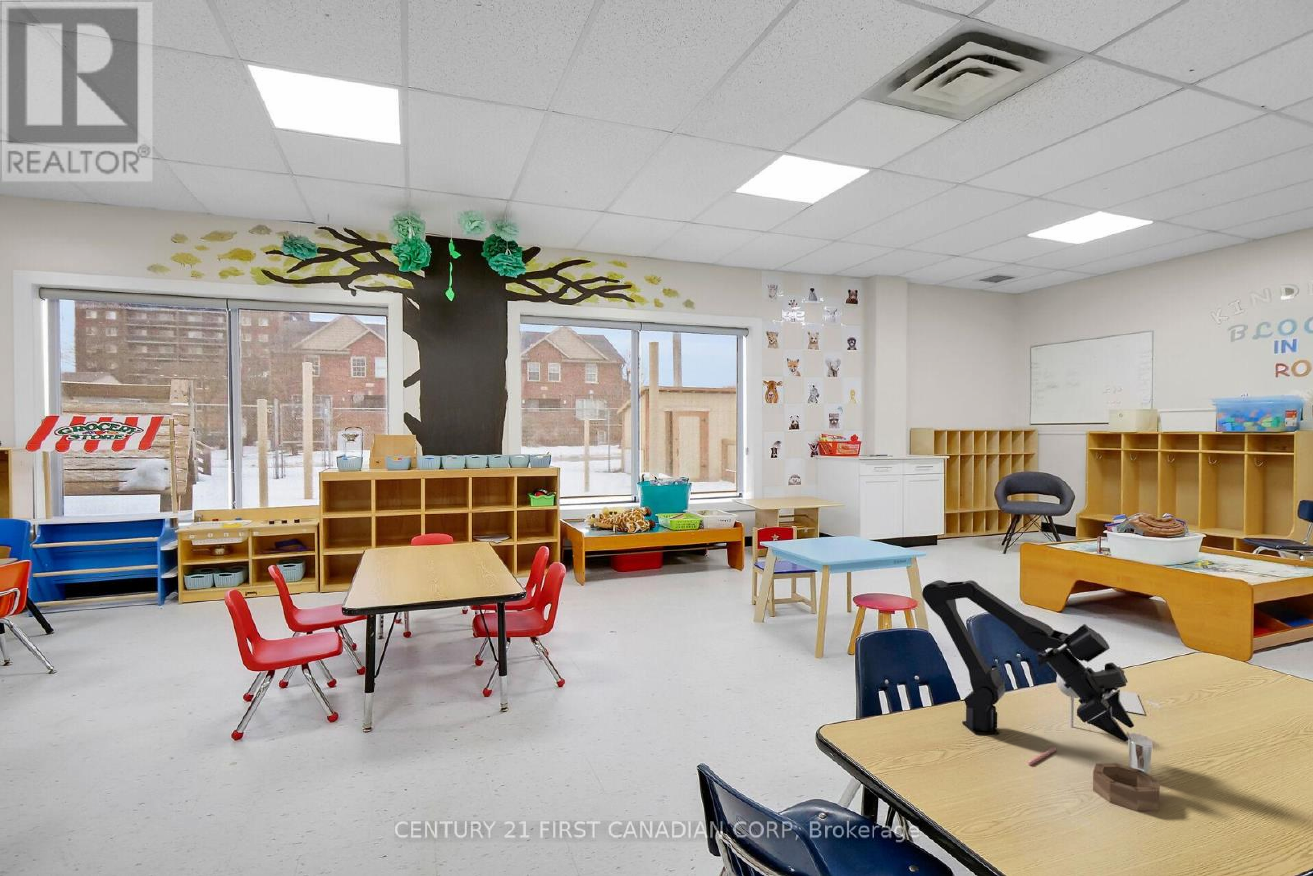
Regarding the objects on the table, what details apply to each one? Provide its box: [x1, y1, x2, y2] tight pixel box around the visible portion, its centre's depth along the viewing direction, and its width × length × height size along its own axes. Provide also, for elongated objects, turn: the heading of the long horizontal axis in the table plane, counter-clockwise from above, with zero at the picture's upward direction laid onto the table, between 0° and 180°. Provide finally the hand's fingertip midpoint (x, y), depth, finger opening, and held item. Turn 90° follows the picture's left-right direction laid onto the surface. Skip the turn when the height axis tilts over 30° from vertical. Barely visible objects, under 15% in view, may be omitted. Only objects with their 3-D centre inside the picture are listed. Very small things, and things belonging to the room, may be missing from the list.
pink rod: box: [1027, 747, 1057, 766], centre depth 150 cm, size 13×1×1 cm, turn 125°
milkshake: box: [1126, 731, 1154, 775], centre depth 142 cm, size 4×5×10 cm
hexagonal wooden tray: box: [1092, 762, 1161, 812], centre depth 134 cm, size 11×11×4 cm
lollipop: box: [1056, 674, 1080, 728], centre depth 166 cm, size 7×7×15 cm
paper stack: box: [1112, 690, 1161, 715], centre depth 178 cm, size 23×25×1 cm
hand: (1129, 733), depth 143 cm, fingers open, 9 cm apart
